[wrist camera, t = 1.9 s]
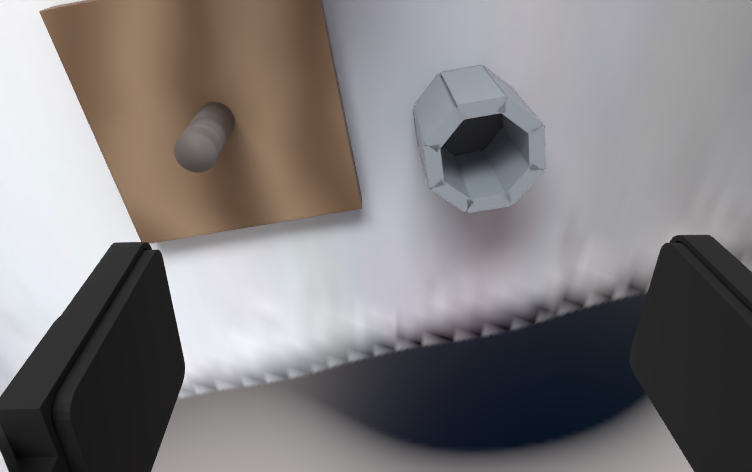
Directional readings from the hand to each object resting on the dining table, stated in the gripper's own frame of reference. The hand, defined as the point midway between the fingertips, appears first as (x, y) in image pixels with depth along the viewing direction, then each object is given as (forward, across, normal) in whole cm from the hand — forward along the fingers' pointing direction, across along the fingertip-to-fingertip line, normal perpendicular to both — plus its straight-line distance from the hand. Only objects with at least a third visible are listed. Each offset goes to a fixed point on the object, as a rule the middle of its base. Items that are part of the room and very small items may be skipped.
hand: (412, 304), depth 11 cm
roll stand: (+24, +9, +4) cm, 26 cm away
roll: (+24, -6, +4) cm, 25 cm away
